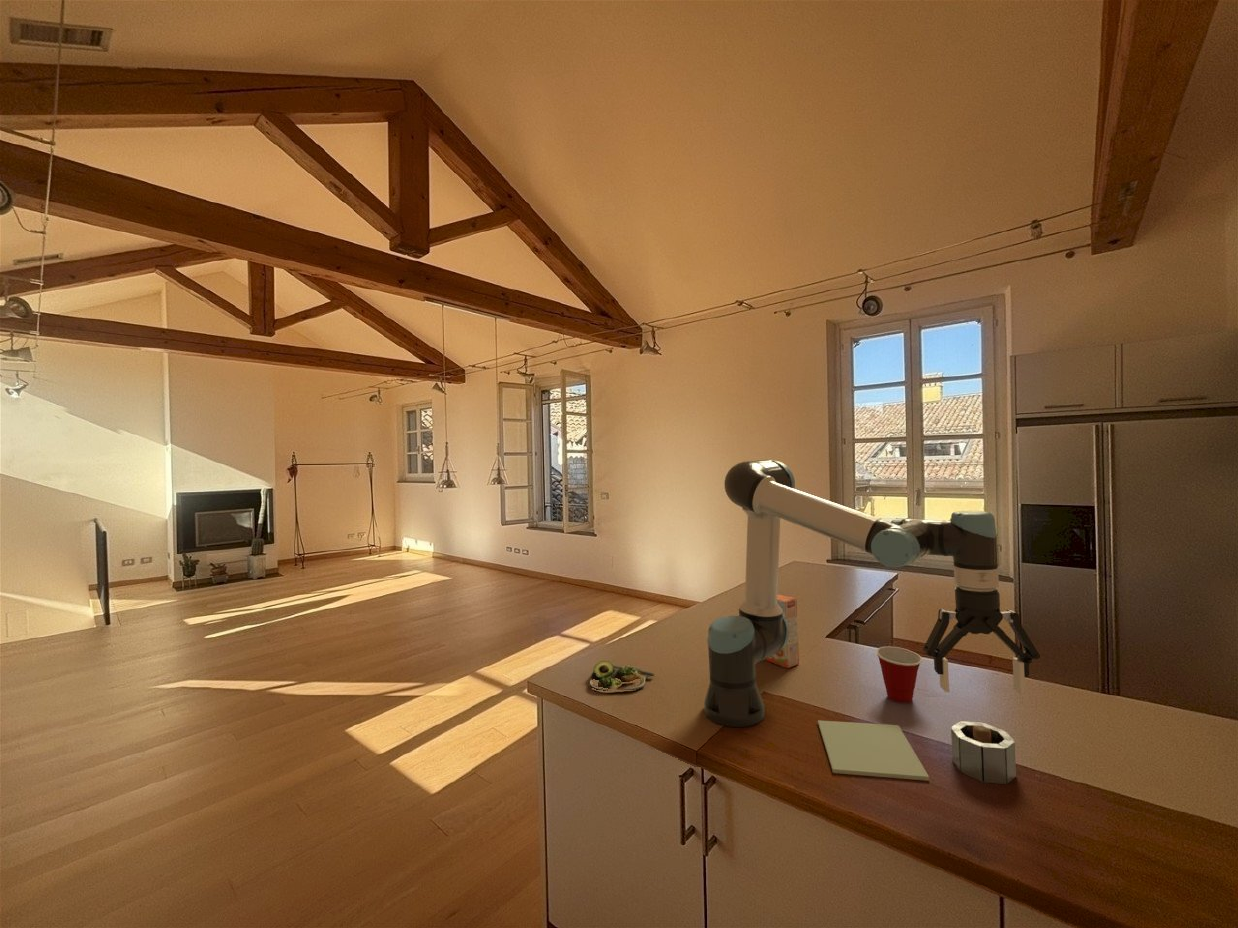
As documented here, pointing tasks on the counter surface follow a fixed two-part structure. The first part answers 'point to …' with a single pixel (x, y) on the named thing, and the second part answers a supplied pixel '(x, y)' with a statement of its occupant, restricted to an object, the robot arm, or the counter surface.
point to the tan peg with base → (982, 734)
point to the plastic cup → (899, 672)
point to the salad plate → (616, 676)
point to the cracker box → (790, 651)
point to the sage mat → (870, 750)
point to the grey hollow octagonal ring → (983, 753)
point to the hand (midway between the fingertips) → (981, 690)
